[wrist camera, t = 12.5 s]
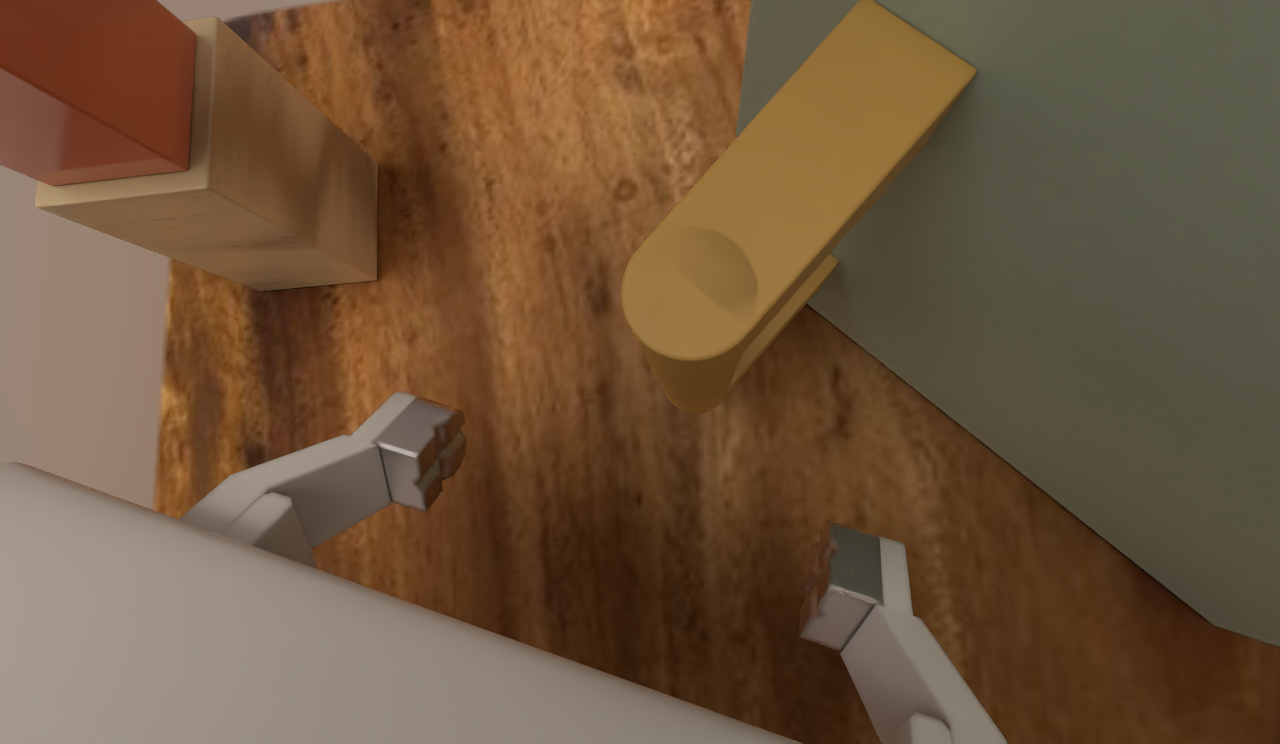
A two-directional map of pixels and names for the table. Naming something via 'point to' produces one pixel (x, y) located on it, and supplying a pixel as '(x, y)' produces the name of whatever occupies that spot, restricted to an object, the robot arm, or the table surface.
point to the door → (1018, 251)
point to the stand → (245, 183)
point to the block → (94, 89)
